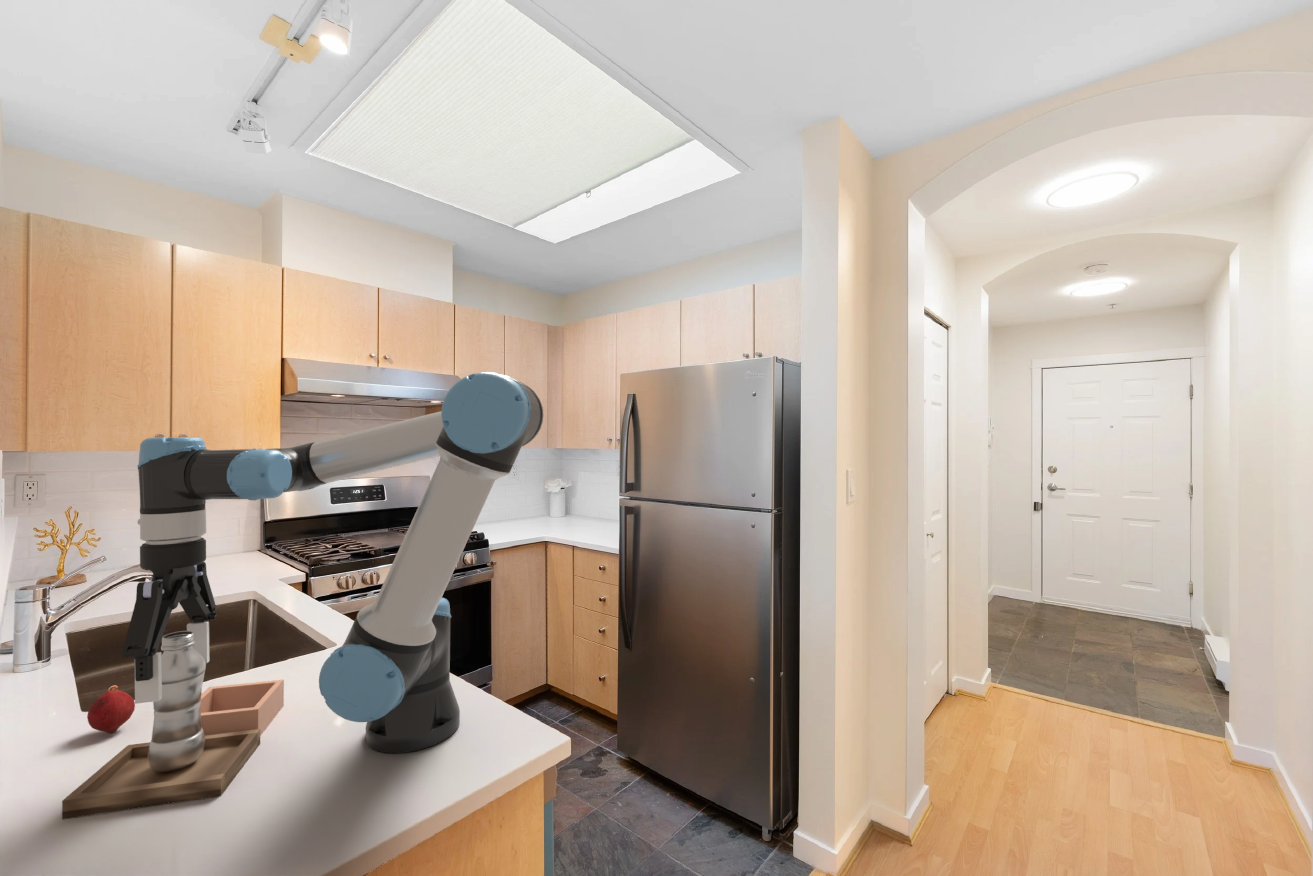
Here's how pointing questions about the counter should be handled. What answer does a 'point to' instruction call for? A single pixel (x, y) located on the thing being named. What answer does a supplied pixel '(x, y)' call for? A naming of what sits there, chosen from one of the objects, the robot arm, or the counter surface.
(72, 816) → the tray
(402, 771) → the counter surface
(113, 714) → the onion
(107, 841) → the counter surface
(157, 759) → the plastic bottle
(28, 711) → the counter surface
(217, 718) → the wooden box frame
